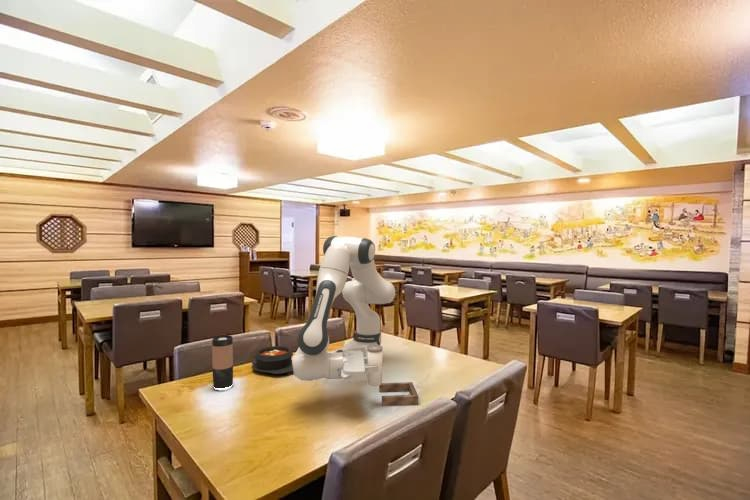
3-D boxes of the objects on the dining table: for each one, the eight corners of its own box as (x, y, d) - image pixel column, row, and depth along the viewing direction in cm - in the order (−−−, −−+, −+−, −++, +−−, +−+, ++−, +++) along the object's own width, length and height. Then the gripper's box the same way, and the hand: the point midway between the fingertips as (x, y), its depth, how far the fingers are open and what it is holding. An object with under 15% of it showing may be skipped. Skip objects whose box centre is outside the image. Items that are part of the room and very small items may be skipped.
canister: (365, 385, 131) (365, 348, 130) (369, 379, 136) (369, 344, 135) (380, 386, 129) (380, 350, 129) (383, 380, 135) (383, 345, 134)
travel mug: (237, 385, 149) (237, 336, 149) (222, 393, 142) (221, 341, 142) (223, 382, 153) (223, 334, 152) (208, 389, 146) (207, 339, 145)
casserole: (307, 370, 166) (307, 352, 166) (269, 382, 153) (269, 362, 153) (277, 357, 184) (277, 341, 184) (241, 367, 171) (241, 349, 170)
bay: (382, 405, 132) (382, 397, 132) (379, 390, 145) (379, 383, 145) (418, 404, 133) (418, 396, 132) (412, 389, 146) (412, 382, 145)
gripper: (337, 367, 121) (379, 366, 122) (339, 347, 141) (375, 347, 142) (337, 386, 121) (379, 385, 122) (339, 364, 142) (375, 363, 143)
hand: (377, 364), depth 132 cm, fingers closed on canister, 5 cm apart
